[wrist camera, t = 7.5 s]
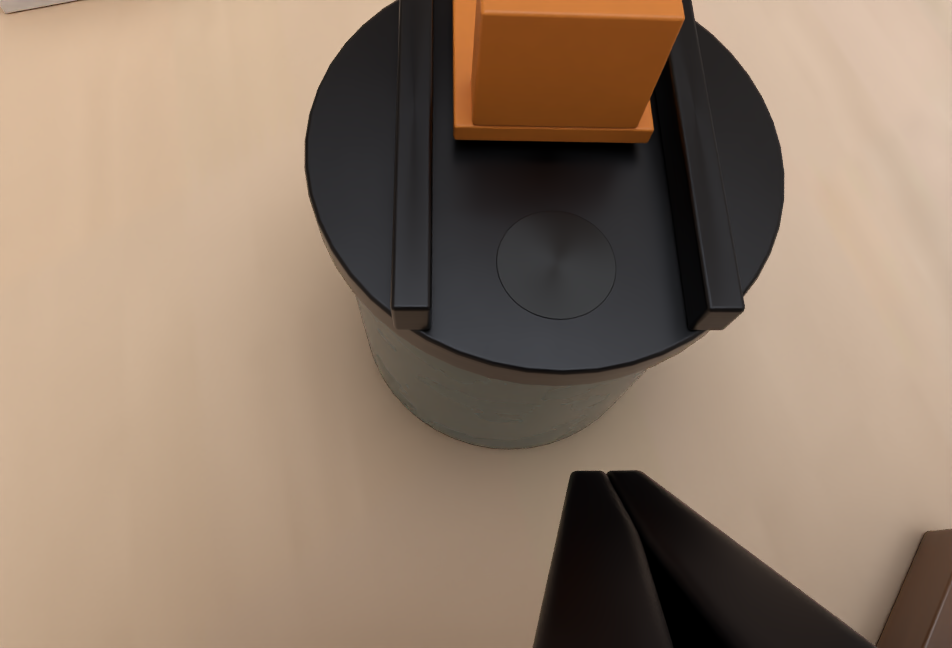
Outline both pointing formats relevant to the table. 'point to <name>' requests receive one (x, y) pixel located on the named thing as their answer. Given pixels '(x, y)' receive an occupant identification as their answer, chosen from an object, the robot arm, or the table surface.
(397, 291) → the tumbler
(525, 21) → the slider
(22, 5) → the white cube
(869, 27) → the table surface
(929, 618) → the block
